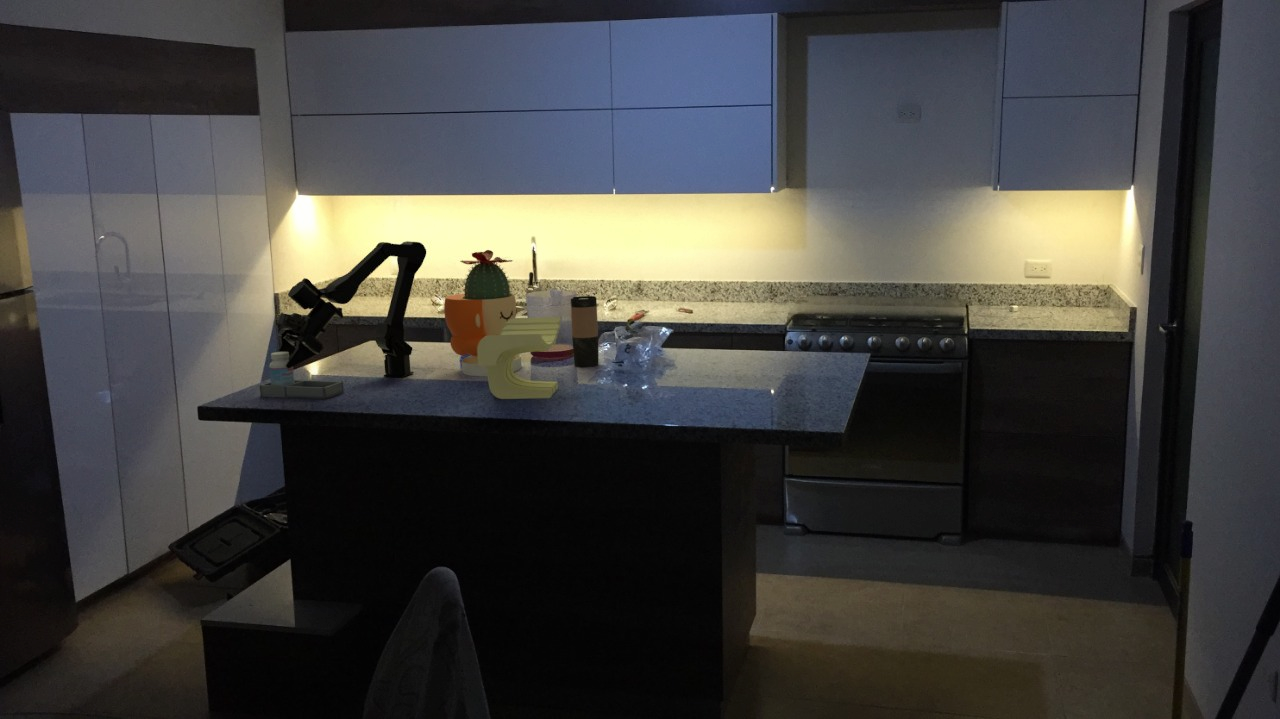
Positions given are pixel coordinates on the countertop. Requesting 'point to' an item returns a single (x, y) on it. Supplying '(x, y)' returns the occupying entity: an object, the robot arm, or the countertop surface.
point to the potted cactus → (480, 310)
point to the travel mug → (584, 331)
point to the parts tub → (303, 389)
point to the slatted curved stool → (513, 341)
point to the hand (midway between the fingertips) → (280, 365)
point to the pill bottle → (280, 370)
